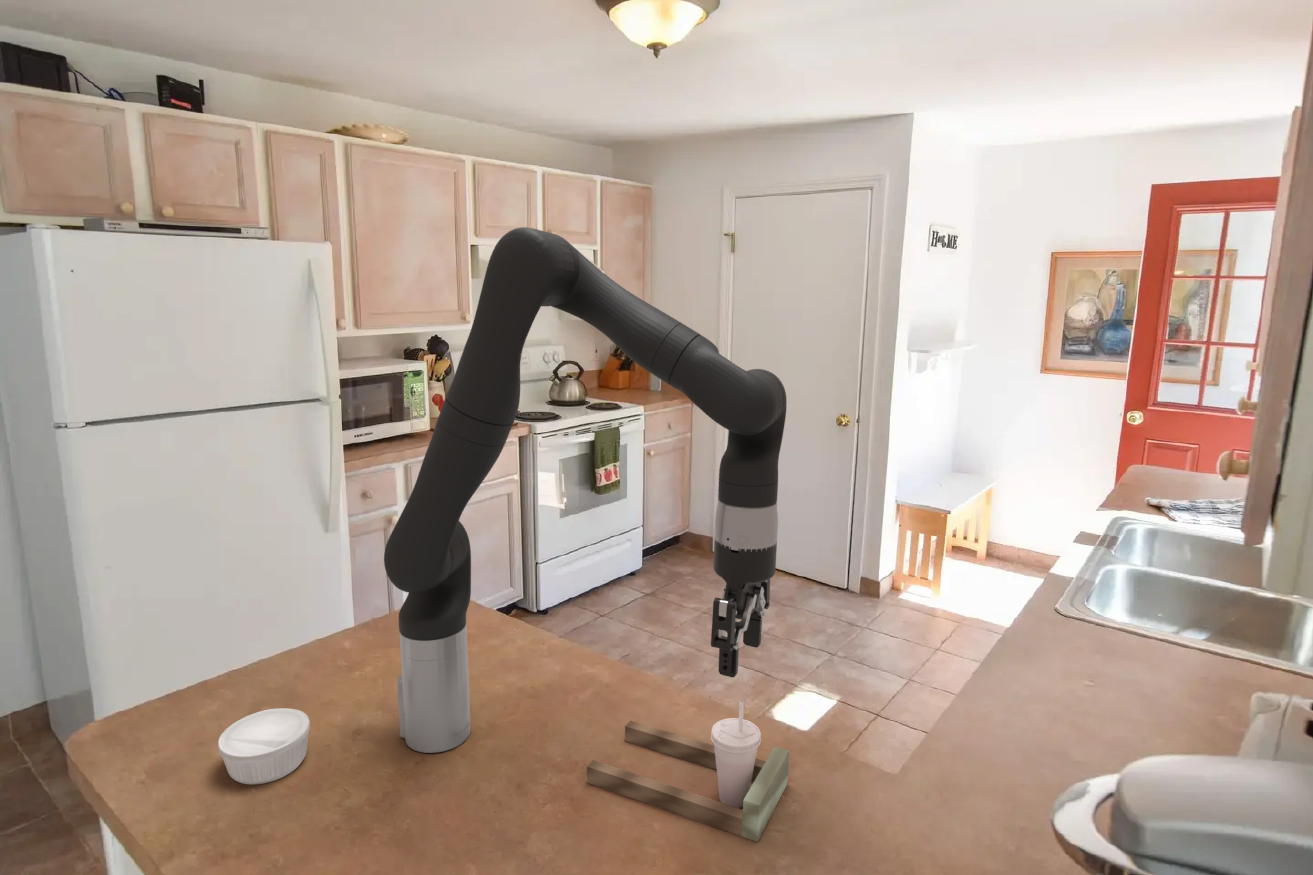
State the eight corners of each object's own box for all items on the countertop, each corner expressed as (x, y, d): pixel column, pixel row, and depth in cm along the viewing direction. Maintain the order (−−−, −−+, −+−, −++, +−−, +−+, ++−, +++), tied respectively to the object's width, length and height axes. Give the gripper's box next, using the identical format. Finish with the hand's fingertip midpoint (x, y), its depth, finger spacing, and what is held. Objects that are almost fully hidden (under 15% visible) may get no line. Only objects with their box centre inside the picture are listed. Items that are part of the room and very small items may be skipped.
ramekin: (219, 800, 97) (215, 764, 96) (222, 753, 107) (219, 719, 106) (315, 776, 102) (312, 741, 101) (309, 732, 112) (307, 700, 111)
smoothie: (756, 818, 95) (760, 717, 92) (706, 810, 97) (708, 711, 94) (760, 785, 101) (764, 690, 99) (712, 779, 103) (715, 684, 100)
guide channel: (586, 782, 102) (586, 748, 101) (630, 735, 112) (630, 704, 111) (757, 841, 91) (759, 805, 90) (787, 783, 102) (789, 750, 101)
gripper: (737, 515, 100) (732, 630, 103) (693, 548, 87) (689, 678, 90) (793, 524, 96) (786, 643, 100) (755, 560, 84) (749, 693, 87)
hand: (740, 659), depth 95 cm, fingers open, 8 cm apart
